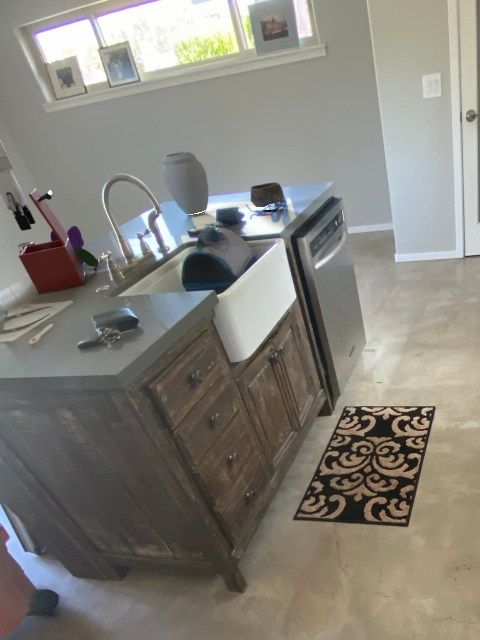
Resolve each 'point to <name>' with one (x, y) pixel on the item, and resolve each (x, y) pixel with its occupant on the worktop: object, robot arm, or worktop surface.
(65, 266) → the red hollow box
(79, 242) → the flower
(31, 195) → the lid
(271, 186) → the bowl
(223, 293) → the worktop surface
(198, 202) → the vase
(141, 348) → the worktop surface
